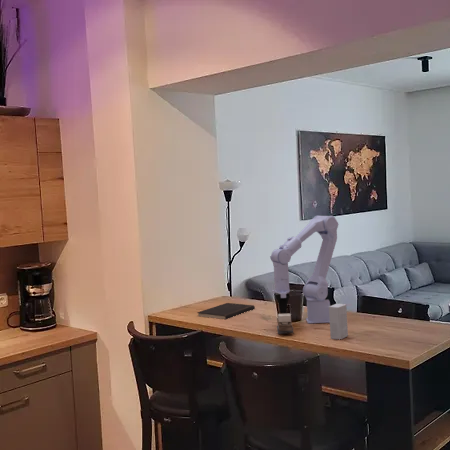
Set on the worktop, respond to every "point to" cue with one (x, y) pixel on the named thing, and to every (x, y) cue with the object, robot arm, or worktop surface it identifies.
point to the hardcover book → (226, 310)
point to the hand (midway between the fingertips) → (283, 312)
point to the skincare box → (338, 321)
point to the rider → (284, 318)
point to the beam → (284, 327)
